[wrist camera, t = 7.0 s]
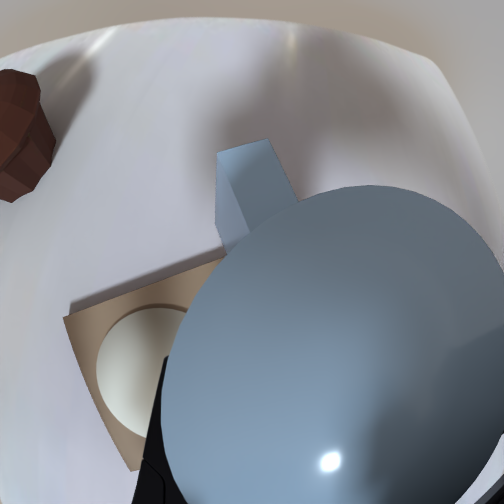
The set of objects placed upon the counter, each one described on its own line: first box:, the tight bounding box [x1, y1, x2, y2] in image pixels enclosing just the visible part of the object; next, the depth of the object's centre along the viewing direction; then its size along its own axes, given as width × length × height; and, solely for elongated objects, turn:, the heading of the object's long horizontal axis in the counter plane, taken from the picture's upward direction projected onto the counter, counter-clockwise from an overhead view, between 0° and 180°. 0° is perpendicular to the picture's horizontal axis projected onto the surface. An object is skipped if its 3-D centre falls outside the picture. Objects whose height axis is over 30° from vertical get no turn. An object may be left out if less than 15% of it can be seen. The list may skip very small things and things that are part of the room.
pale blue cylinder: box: [161, 138, 504, 504], centre depth 10 cm, size 9×6×12 cm
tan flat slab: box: [63, 257, 225, 472], centre depth 20 cm, size 26×13×3 cm, turn 112°
